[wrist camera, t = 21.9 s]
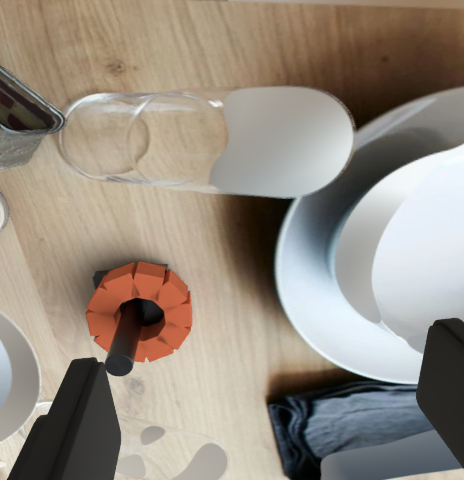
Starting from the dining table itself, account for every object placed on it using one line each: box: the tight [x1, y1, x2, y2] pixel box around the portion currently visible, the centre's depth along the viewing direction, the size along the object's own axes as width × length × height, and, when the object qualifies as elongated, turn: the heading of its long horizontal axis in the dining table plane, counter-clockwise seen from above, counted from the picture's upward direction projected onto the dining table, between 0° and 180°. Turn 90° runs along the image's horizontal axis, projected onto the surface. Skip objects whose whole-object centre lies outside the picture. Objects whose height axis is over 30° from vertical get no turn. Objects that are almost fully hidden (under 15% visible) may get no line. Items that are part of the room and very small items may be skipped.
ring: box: [86, 261, 192, 362], centre depth 39 cm, size 11×11×3 cm
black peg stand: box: [93, 264, 169, 376], centre depth 36 cm, size 8×8×12 cm
